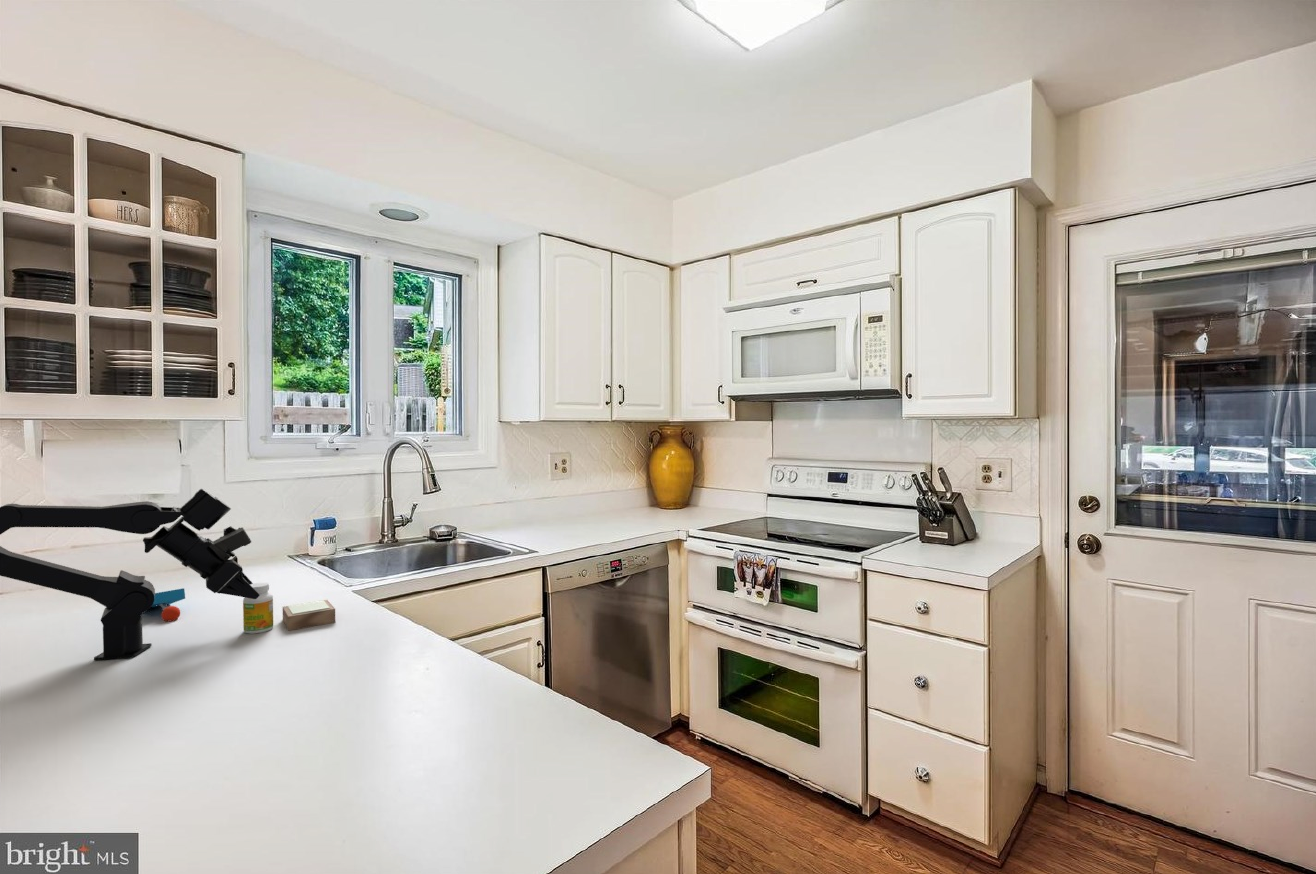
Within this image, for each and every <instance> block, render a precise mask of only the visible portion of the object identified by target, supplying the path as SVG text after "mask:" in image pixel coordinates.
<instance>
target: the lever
mask: <svg viewBox="0 0 1316 874" xmlns="http://www.w3.org/2000/svg"><path fill="white" fill-rule="evenodd" d="M185 599H186V591H185V588H184V587H183V588H178V589H171V590H166V591H161V592H155V598H154V602H153V605H152V606H151V607H152V608H157V607H161V608H162V611H161V614H160V615H161V619H162V620H163V621H165V622H173V620H174V621H177V619H178V618H179V617H180V616H181V610H180V608H179V607H177V606H174V605H171V604H174V603H177V602H180V601H182V600H185ZM167 604H168V605H170V606H168V605H167ZM156 605H157V606H156ZM151 607H150V609H151Z"/></svg>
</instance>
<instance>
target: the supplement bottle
mask: <svg viewBox="0 0 1316 874" xmlns="http://www.w3.org/2000/svg"><path fill="white" fill-rule="evenodd" d="M250 585H251V586H252V587H253V588H254V589H255V590H256V591H257V592H258V594H259V597H258V598H257V599H251V598H245V597H243V600H242V614H243V616H242V617H243V620H242V621H243V622H242V623H243V627H242V628H243V633H246V634H250V635H252V634H253V635H254V634H262V633H266V632H268V631H270V630H272V629H273V628H274V598H273V597H274V596H273V594H272V593H270V592H269V590H270V584H269V582H254V583H253V584H250Z"/></svg>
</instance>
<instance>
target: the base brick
mask: <svg viewBox="0 0 1316 874" xmlns="http://www.w3.org/2000/svg"><path fill="white" fill-rule="evenodd" d="M282 622H283V623H284V625H285V627H286V629H287V631H294V630H299V629H305V628H309V627H310V628H311V627H318V626H321V625H327V624H332V623H333V624H334V623H336V608H335V607H334V605H332V603H331V602H330V601H329V600H328V599H324V600H317V601H312V602H304V603H299V604H298V603H297V604H291V605H286V606H282Z"/></svg>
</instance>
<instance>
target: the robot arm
mask: <svg viewBox="0 0 1316 874" xmlns="http://www.w3.org/2000/svg"><path fill="white" fill-rule="evenodd" d="M230 510H232V508H231V506H229V505H227V504H226V503H225V502H223V501H222V500H221V499H219V498H218V497H216V496H215V497H214V496H213V495H212V494H210V493H209V492H208V491H206V490H205V489H203V488H200V489H198V491H196V492H195V493H194V495H192V497H191V498H190V499H188V500H187V502H185V503H184V504H182V505H181V507H175V506H173V507H167V506H159V505H158V504H157V503H155V502H152V501H145V500H144V501H137V502H128V503H119V504H114V505H113V504H112V505H106V506H93V505H92V506H88V505H87V506H85V505H84V506H83V505H82V506H79V505H37V504H36V505H34V504H32V505H31V504H30V505H29V504H18V503H7V504H4V505H2V506H0V536H1V535H2V534H4V533H5V532H7V531H8V530H9V529H10V530H11V529H13V528H100V529H107V530H112V531H116V532H121V533H128V534H129V533H130V534H136V535H137V534H138V535H147V534H151V533H153V532H155V531H156V530H157V529H158V531H157V532H155V533H154V534H153V535H152V536H149V537H148V536H146V537H143V539H142V542H143V544H144V553H145V554H148V553H150V552H151V551H152V550H153V549H154V548H156V547H158V548H159V549H161V550H162V551H164V552H166V553H167V554H168V555H169V556H172V557H173V558H174V559H176V560H177V561H179V562H181V565H182V566H184V567H186V568H190V569H191V570H193V571H194V572H196V573H197V574H199V577H201V578H202V579H204V580H205V587H206V588H207V589H208V590H209V591H211V592H212V593H214V594H223V595H229V596H234V597H241V598H251V599H257V598H258V597H259V594H258V592H257V591H256V590H255V589H254V588H253V587H252V586H251V585H250V584H254V583H253V582H252V580H250V578H249V577H248V576H247V575H246V574H245V573H244V572H243V570H244V569H243V567H242V565H240V563H239V562H238V560H239V559H238V556H237V555H236V554H235V553H234V551H236V550H238V549H240V548H242V547H246V546H248V545H250V544H252V540H251V538H250V536H249V535H248V533H247V532H246V531H245V529H244V527H238V528H235V527H234V526H228V527H226V528H224V529H223V535H222V536H220V537H219V538H217V539H215V540H212V539H210V538H209V537H208V538H206V537H205V538H204V537H203V536H201V535H200V534H198V533H197V532H196V531H194V530H193V529H195V530H197V531H199V532H200V531H202V530H204V529H206V530H210V529H212V527H213V526H215V524H217V523H218V522H219V521H220V520H221V519H222V518H223V517H225V515H226V514H227V513H229V512H230ZM175 521H176V522H175ZM183 522H185V523H187V524H188V525H190V526H191V527H193V529H191V528H190V527H188V526H187V525H185V524H184V523H183ZM171 523H173V524H172V525H170V526H169V527H167V526H163V525H167V524H171ZM160 526H162V527H160ZM159 528H160V529H159ZM231 557H232V558H231ZM230 558H231V559H230ZM0 577H4V578H8V579H13V580H16V581H19V582H23V583H28V584H32V585H36V586H41V587H45V588H48V589H52V590H56V591H59V592H65V593H67V594H68V593H69V594H72V595H76V596H81V597H84V598H88V599H91V600H93V601H95V602H97V603H98V604H100V605H102V606H104V609H103V612H102V615H101V618H100V622H101V624H102V645H103V647H102V650H103V651H102V652H101V653H99V654H98V655H95V656H94V657H93V660H94V661H98V660H99V661H100V660H111V659H112V660H113V659H124V658H125V659H126V658H127V659H128V658H129V659H130V658H134V657H136V656H138V655H139V654H141V653H143V652H144V651H146V650H147V649H149V648H150V647H152V643H144V641H143V638H144V637H143V616H142V614H144V613H146V612H147V611H148V610H150V609H151V608H150V607H151V606H152V605H153V602H154V598H155V593H156V588H155V587H154V585H153V583H152V582H151V581H149V580H146V576H145V575H135V574H132V573H130V572H127V571H126V570H120V571H119V574H118V575H117V576H103V575H99V574H95V573H91V572H89V571H85V570H80V569H76V568H74V567H73V568H72V567H69V566H65V565H62V564H58V563H54V562H50V561H47V560H44V559H43V560H42V559H38V558H35V557H32V556H28V555H24V554H20V553H16V552H13V551H10V550H8V549H7V548H4V547H3V546H2V545H0Z"/></svg>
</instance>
